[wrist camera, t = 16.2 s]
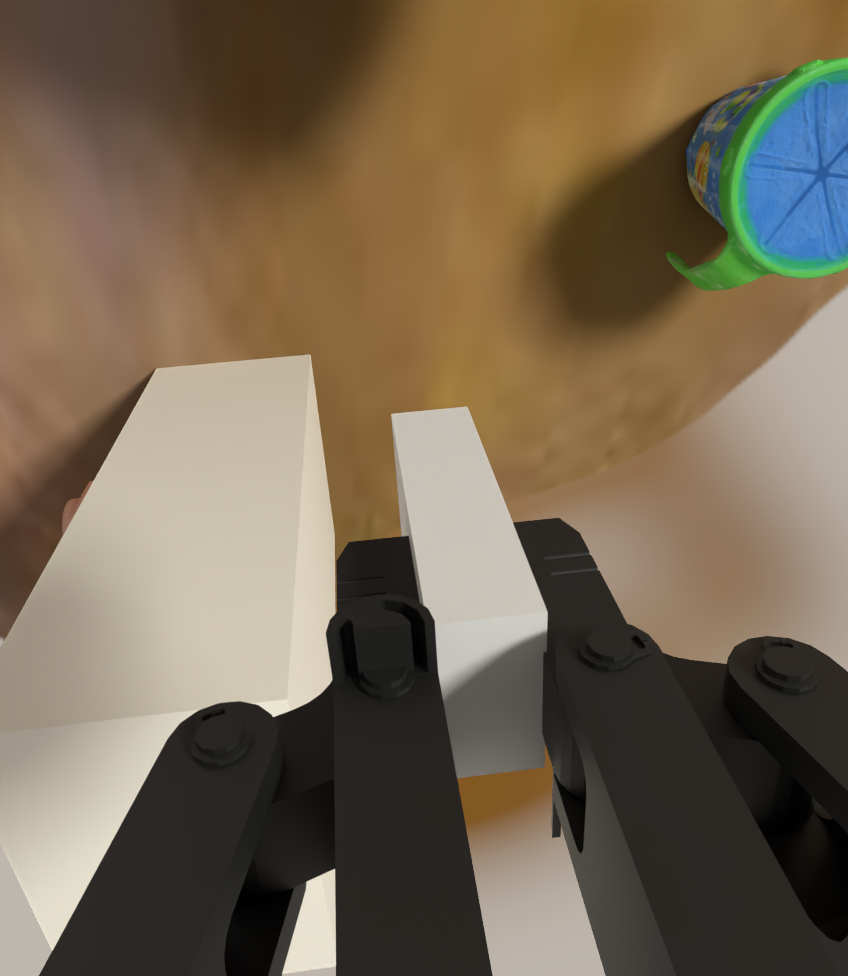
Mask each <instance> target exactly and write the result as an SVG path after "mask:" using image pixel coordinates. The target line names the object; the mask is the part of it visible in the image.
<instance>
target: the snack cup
mask: <svg viewBox="0 0 848 976" xmlns="http://www.w3.org/2000/svg"><path fill="white" fill-rule="evenodd" d="M686 157H687V177H688V181H689V186H690V189H691V191H692V194H693V195H694V197H695V199H696V200H697V202H698V203H699V204H700V205H701V206H702V207H703V208H704V209H705V210H706V211H707V212H708V213H709V214H710V215H711V216H712V217H713V218H714V219H715V220H716V221H717V222H718V223H719V224H720V225H721V226H722V227H723V228H725V229H726V231H727V234H728V237H727V238H728V241H727V244H726V245H725V247H724V249H723V250H722V251H721V253H720V254H719V256H718V257H717V258H716V259H714V260H710V261H708V262H705V263H703V264H700V265H698V266H696V267H692V268H690V267H689V266H688V265H687V264H686V263H685V262H684V261H683V260H682V259H681V258H680V257H679V256H677V255H676V254H675V253H674V252H672V251H669V252H667V254H666V256H667V259H668V260H669V262H670V263H671V265H672V266H673V267H674V268H675V269H676V270H677V271H678V272H680V273H681V274H683V275H684V276H685V277H686V278H687V279H689V280H690V281H691V282H692V283H693V284H694V285H695V286H696V287H698V288H700V289H703V290H726V289H730V288H733V287H738V286H740V285H743V284H746V283H749V282H751V281H753V280H755V279H757V278H759V277H761V276H764V275H766V274H778V275H781V276H785V277H790V278H802V279H805V278H809V279H811V278H817V277H823V276H826V275H829V274H835V273H838V272H840V271H842V270H844V269H846V268H848V58H838V59H830V60H824V61H821V60H814V61H811V62H808V63H806V64H804V65H802V66H799V67H797V68H796V69H794V70H793V71H792V72H790V73H789V74H788V75H786V76H783V77H779V78H775V79H770V80H766V81H762V82H758V83H755V84H752V85H749V86H745V87H741V88H739V89H736V90H734V91H732V92H730V93H728V94H726V95H725V96H724V97H723V98H722V99H721V100H720V101H718V102H717V103H716V104H714V105H712V106H711V108H710V109H709V110H708V111H707V112H706V114H705V115H704V117H703V118H702V120H701V121H700V123H699V125H698V126H697V129H696V131H695V133H694V134H693V136H692V138H691V140H690V143H689V145H688V147H687V149H686Z"/></svg>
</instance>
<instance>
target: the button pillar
mask: <svg viewBox="0 0 848 976" xmlns="http://www.w3.org/2000/svg"><path fill="white" fill-rule="evenodd" d="M334 615H335V535H334V527H333V519H332V512H331V505H330V497H329V490H328V482H327V475H326V467H325V460H324V452H323V445H322V437H321V430H320V423H319V415H318V408H317V400H316V393H315V385H314V378H313V370H312V363H311V355H299V356H288V357H277V358H266V359H255V360H244V361H233V362H222V363H211V364H200V365H189V366H178V367H167V368H156V370H155V372H154V374H153V375H152V377H151V379H150V381H149V382H148V384H147V386H146V388H145V390H144V391H143V393H142V395H141V397H140V399H139V400H138V402H137V404H136V406H135V408H134V409H133V411H132V413H131V415H130V417H129V418H128V420H127V422H126V424H125V425H124V427H123V429H122V431H121V433H120V434H119V436H118V438H117V440H116V442H115V443H114V445H113V447H112V449H111V451H110V452H109V454H108V456H107V458H106V460H105V461H104V463H103V465H102V467H101V469H100V470H99V472H98V474H97V476H96V477H95V479H94V481H93V483H92V485H91V486H90V488H89V490H88V492H87V494H86V495H85V497H84V499H83V501H82V503H81V504H80V506H79V508H78V510H77V512H76V513H75V515H74V517H73V519H72V520H71V522H70V524H69V526H68V528H67V529H66V531H65V533H64V535H63V537H62V538H61V540H60V542H59V544H58V546H57V547H56V549H55V551H54V553H53V555H52V556H51V558H50V560H49V562H48V563H47V565H46V567H45V569H44V571H43V572H42V574H41V576H40V578H39V580H38V581H37V583H36V585H35V587H34V589H33V590H32V592H31V594H30V596H29V598H28V599H27V601H26V603H25V605H24V607H23V608H22V610H21V612H20V614H19V615H18V617H17V619H16V621H15V623H14V624H13V626H12V628H11V630H10V632H9V633H8V635H7V637H6V639H5V641H4V642H3V644H2V646H1V648H0V844H1V846H2V848H3V850H4V852H5V854H6V856H7V859H8V861H9V863H10V865H11V867H12V869H13V871H14V873H15V875H16V877H17V879H18V881H19V883H20V885H21V887H22V889H23V891H24V894H25V896H26V898H27V900H28V902H29V904H30V906H31V908H32V910H33V912H34V914H35V916H36V919H37V921H38V923H39V925H40V927H41V929H42V931H43V933H44V935H45V937H46V939H47V941H48V943H49V945H50V947H51V950H52V951H53V949H54V947H55V945H56V943H57V942H58V940H59V938H60V936H61V934H62V932H63V931H64V929H65V927H66V925H67V923H68V921H69V920H70V918H71V916H72V914H73V912H74V910H75V908H76V907H77V905H78V903H79V901H80V899H81V897H82V896H83V894H84V892H85V890H86V888H87V886H88V885H89V883H90V881H91V879H92V877H93V875H94V873H95V872H96V870H97V868H98V866H99V864H100V862H101V861H102V859H103V857H104V855H105V853H106V851H107V850H108V848H109V846H110V844H111V842H112V840H113V838H114V837H115V835H116V833H117V831H118V829H119V827H120V826H121V824H122V822H123V820H124V818H125V816H126V814H127V813H128V811H129V809H130V807H131V805H132V803H133V802H134V800H135V798H136V796H137V794H138V792H139V791H140V789H141V787H142V785H143V783H144V781H145V779H146V778H147V776H148V774H149V772H150V770H151V768H152V767H153V765H154V763H155V761H156V759H157V757H158V756H159V754H160V752H161V750H162V748H163V746H164V744H165V743H166V741H167V739H168V738H169V736H170V735H171V734H172V733H173V731H174V730H175V729H176V728H177V726H178V725H179V724H180V723H181V722H182V721H184V720H185V719H187V718H188V717H190V716H191V715H193V714H194V713H195V712H197V711H198V710H201V709H204V708H207V707H209V706H212V705H215V704H218V703H225V702H236V701H242V702H246V703H251V704H256V705H259V706H260V707H262V708H263V709H265V710H266V711H267V712H269V713H270V714H272V716H273V717H275V716H278V715H281V714H283V713H286V712H289V711H291V710H294V709H296V708H298V707H300V706H302V705H304V704H307V703H309V702H310V701H312V700H313V699H314V698H316V697H317V696H318V695H320V694H321V693H322V692H323V691H324V690H325V689H326V688H327V687H328V685H329V684H330V683H331V681H332V672H331V666H330V659H329V652H328V646H327V639H326V630H327V627H328V624H329V621H330V619H331V618H332V617H333V616H334ZM335 966H336V910H335V869H333V870H331V871H329V872H327V873H324V874H322V875H320V876H318V877H316V878H314V879H311V880H309V881H307V882H306V891H305V894H304V898H303V902H302V905H301V909H300V912H299V916H298V919H297V923H296V926H295V930H294V933H293V937H292V940H291V944H290V947H289V951H288V955H287V958H286V962H285V965H284V969H283V972H282V974H284V973H292V972H299V971H307V970H314V969H321V968H328V967H335Z"/></svg>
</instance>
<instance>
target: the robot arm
mask: <svg viewBox="0 0 848 976" xmlns="http://www.w3.org/2000/svg"><path fill="white" fill-rule="evenodd" d="M391 417H392V429H393V440H394V452H395V464H396V475H397V487H398V499H399V510H400V522H401V533H402V537H393V538H383V539H374V540H365V541H355V542H349V543H348V544H347V546H346V547H345V549H344V550H343V552H342V553H341V555H340V556H339V558H338V560H337V613H336V614H335V615H334V616H333V617H332V618H331V619H330V621H329V624H328V627H327V630H326V639H327V646H328V652H329V659H330V666H331V672H332V681H331V683H330V684H329V685H328V687H327V688H326V689H325V690H324V691H323V692H322V693H321V694H320V695H318V696H317V697H316V698H314V699H313V700H312V701H310V702H309V703H307V704H304V705H302V706H300V707H298V708H296V709H294V710H291V711H289V712H286V713H283V714H281V715H278V716H275V717H273V716H272V714H270V713H269V712H267V711H266V710H265V709H263V708H262V707H260V706H259V705H256V704H251V703H246V702H242V701H236V702H225V703H218V704H215V705H212V706H209V707H207V708H204V709H201V710H198V711H197V712H195V713H194V714H193V715H191V716H190V717H188V718H187V719H185V720H184V721H182V722H181V723H180V724H179V725H178V726H177V728H176V729H175V730H174V731H173V733H172V734H171V735H170V736H169V738H168V739H167V741H166V743H165V744H164V746H163V748H162V750H161V752H160V754H159V756H158V757H157V759H156V761H155V763H154V765H153V767H152V768H151V770H150V772H149V774H148V776H147V778H146V779H145V781H144V783H143V785H142V787H141V789H140V791H139V792H138V794H137V796H136V798H135V800H134V802H133V803H132V805H131V807H130V809H129V811H128V813H127V814H126V816H125V818H124V820H123V822H122V824H121V826H120V827H119V829H118V831H117V833H116V835H115V837H114V838H113V840H112V842H111V844H110V846H109V848H108V850H107V851H106V853H105V855H104V857H103V859H102V861H101V862H100V864H99V866H98V868H97V870H96V872H95V873H94V875H93V877H92V879H91V881H90V883H89V885H88V886H87V888H86V890H85V892H84V894H83V896H82V897H81V899H80V901H79V903H78V905H77V907H76V908H75V910H74V912H73V914H72V916H71V918H70V920H69V921H68V923H67V925H66V927H65V929H64V931H63V932H62V934H61V936H60V938H59V940H58V942H57V943H56V945H55V947H54V949H53V951H52V953H51V955H50V956H49V958H48V960H47V962H46V964H45V966H44V967H43V969H42V971H41V973H40V975H39V976H282V972H283V969H284V965H285V962H286V958H287V955H288V951H289V947H290V944H291V940H292V937H293V933H294V930H295V926H296V923H297V919H298V916H299V912H300V909H301V905H302V902H303V898H304V894H305V891H306V882H307V881H309V880H311V879H314V878H316V877H318V876H320V875H322V874H324V873H327V872H329V871H331V870H333V869H335V910H336V976H492V971H491V965H490V960H489V954H488V949H487V943H486V937H485V932H484V926H483V921H482V915H481V909H480V904H479V899H478V893H477V887H476V881H475V876H474V870H473V865H472V859H471V854H470V848H469V843H468V838H467V832H466V826H465V820H464V815H463V809H462V804H461V798H460V792H459V787H458V781H457V778H462V777H471V776H477V775H487V774H495V773H503V772H510V771H518V770H526V769H534V768H542V767H544V763H545V744H546V747H547V750H548V753H549V756H550V760H551V763H552V766H553V793H552V837H553V838H554V837H560V834H561V827H562V830H563V833H564V837H565V840H566V843H567V847H568V850H569V853H570V857H571V860H572V864H573V867H574V870H575V874H576V877H577V881H578V883H579V887H580V890H581V894H582V897H583V900H584V904H585V907H586V911H587V914H588V918H589V921H590V924H591V927H592V931H593V934H594V938H595V941H596V944H597V948H598V951H599V955H600V958H601V961H602V965H603V968H604V971H605V975H606V976H848V672H847V671H846V670H845V669H843V668H842V667H841V666H840V665H839V664H837V663H836V662H835V661H834V660H832V659H831V658H830V657H828V656H827V655H825V654H824V653H822V652H820V651H819V650H817V649H816V648H814V647H812V646H810V645H807V644H805V643H802V642H799V641H795V640H792V639H790V638H781V637H771V636H765V637H758V638H751V639H748V640H746V641H744V642H742V643H740V644H738V645H737V646H735V647H734V649H733V650H732V652H731V654H730V655H729V657H728V661H727V664H721V663H712V662H703V661H694V660H688V659H683V658H677V657H673V656H670V655H667V654H664V653H662V651H661V649H660V648H659V646H658V645H657V644H656V643H655V641H654V640H653V639H652V638H651V637H650V636H649V635H648V634H647V633H645V632H643V631H641V630H640V629H638V628H636V627H634V626H632V625H629V624H627V623H626V621H625V619H624V617H623V615H622V613H621V611H620V609H619V608H618V605H617V604H616V602H615V600H614V598H613V596H612V594H611V592H610V590H609V588H608V586H607V585H606V582H605V581H604V579H603V577H602V575H601V573H600V571H598V570H597V565H596V563H595V561H594V560H593V558H592V556H591V555H590V554H589V550H588V548H587V546H586V544H585V542H584V540H583V539H582V537H581V535H580V533H579V532H578V531H576V530H575V529H574V528H572V527H571V526H569V525H568V524H567V523H565V522H564V521H562V520H561V519H560V518H553V519H543V520H534V521H524V522H515V523H513V522H512V520H511V518H510V515H509V512H508V509H507V507H506V504H505V502H504V499H503V497H502V494H501V492H500V489H499V486H498V484H497V481H496V479H495V476H494V474H493V471H492V469H491V466H490V463H489V461H488V458H487V456H486V453H485V451H484V448H483V446H482V443H481V440H480V438H479V435H478V433H477V430H476V428H475V425H474V423H473V420H472V417H471V415H470V412H469V410H468V407H459V408H448V409H438V410H427V411H417V412H407V413H396V414H391Z"/></svg>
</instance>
